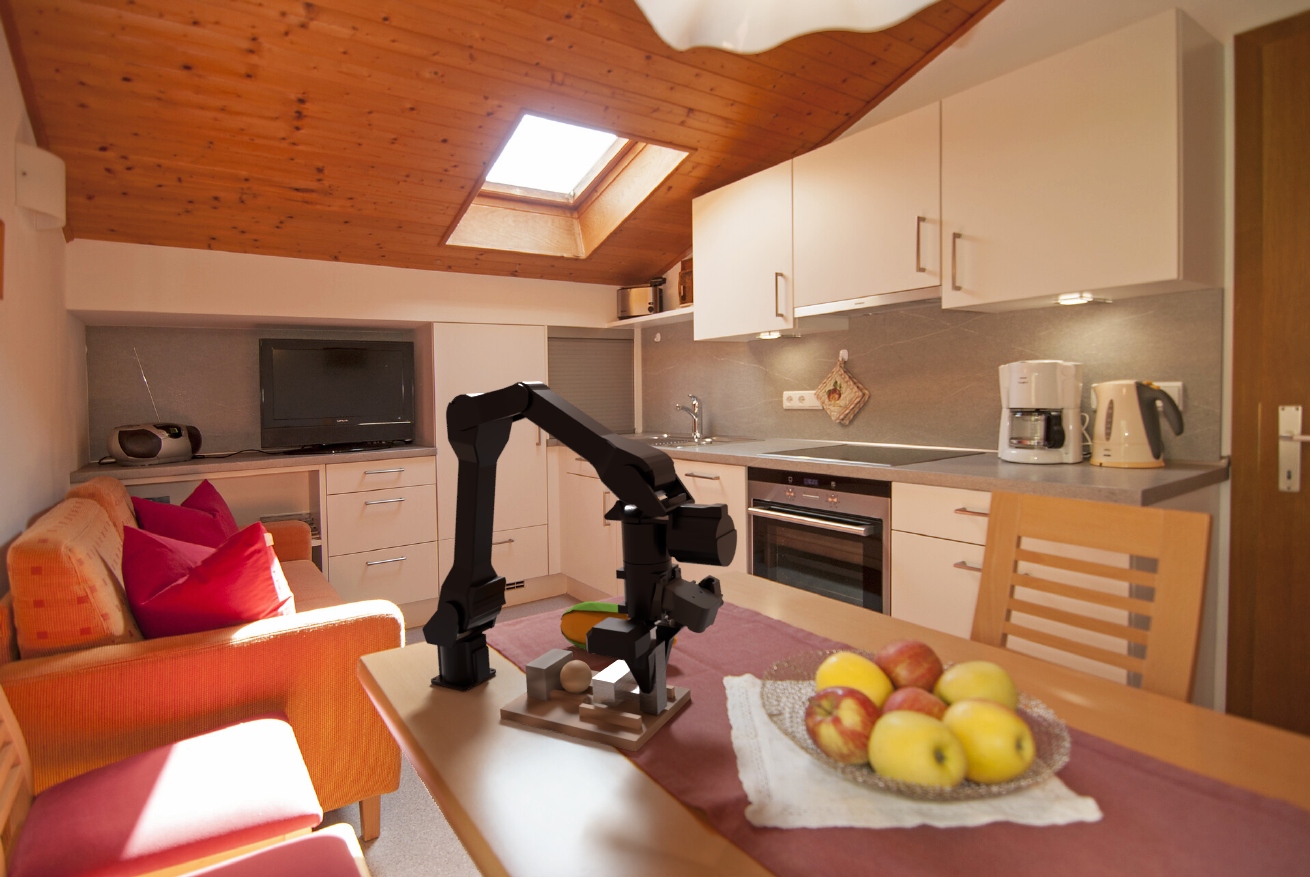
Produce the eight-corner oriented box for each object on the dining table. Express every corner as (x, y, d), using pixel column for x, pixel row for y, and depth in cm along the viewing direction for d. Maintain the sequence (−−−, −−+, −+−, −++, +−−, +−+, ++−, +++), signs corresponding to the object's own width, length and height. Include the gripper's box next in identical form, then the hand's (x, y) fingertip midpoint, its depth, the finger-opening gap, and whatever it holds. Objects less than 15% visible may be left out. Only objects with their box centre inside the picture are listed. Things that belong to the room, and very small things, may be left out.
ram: (593, 709, 84) (590, 643, 83) (619, 688, 89) (616, 627, 88) (650, 721, 80) (647, 653, 79) (673, 699, 85) (671, 635, 85)
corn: (574, 588, 112) (688, 602, 103) (579, 633, 113) (691, 651, 104) (547, 605, 106) (665, 622, 96) (551, 653, 107) (669, 674, 97)
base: (500, 718, 86) (498, 676, 85) (567, 673, 98) (565, 636, 97) (636, 751, 77) (633, 704, 76) (690, 698, 89) (689, 657, 88)
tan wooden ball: (554, 695, 88) (552, 664, 87) (572, 682, 91) (571, 653, 91) (581, 701, 86) (579, 669, 85) (598, 688, 89) (597, 657, 89)
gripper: (673, 588, 70) (679, 738, 71) (741, 545, 86) (745, 668, 87) (580, 577, 75) (587, 717, 76) (660, 539, 91) (665, 655, 93)
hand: (652, 687), depth 83 cm, fingers open, 3 cm apart
